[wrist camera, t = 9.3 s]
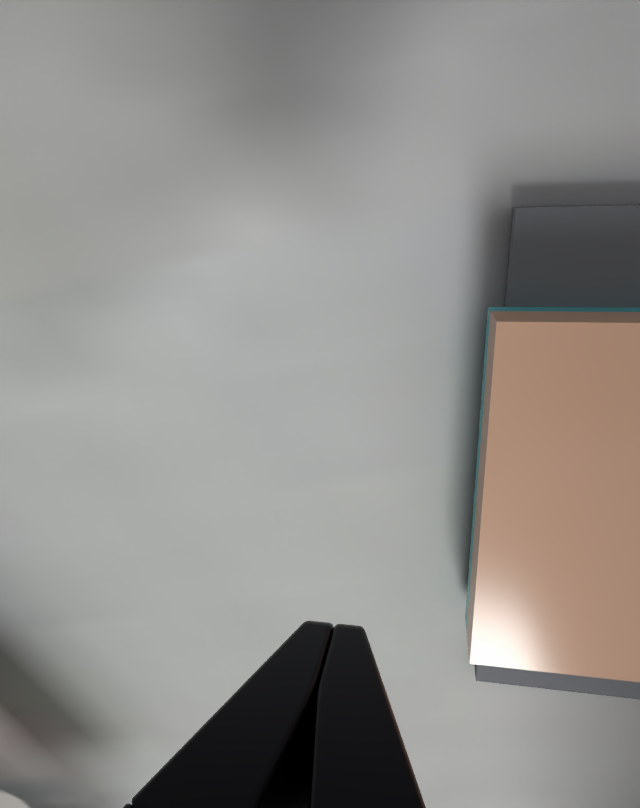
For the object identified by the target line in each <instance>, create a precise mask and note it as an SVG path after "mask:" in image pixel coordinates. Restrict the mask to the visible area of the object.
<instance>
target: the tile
mask: <svg viewBox="0 0 640 808" xmlns="http://www.w3.org/2000/svg"><path fill="white" fill-rule="evenodd" d="M465 619H466V629H467V640H468V651H469V661H470V664H476V665H485V666H495V667H504V668H513V669H522V670H531V671H540V672H550V673H559V674H568V675H577V676H586V677H595V678H605V679H614V680H623V681H632V682H640V308H613V307H488V313H487V327H486V341H485V354H484V368H483V382H482V395H481V409H480V423H479V437H478V450H477V464H476V478H475V491H474V505H473V519H472V533H471V546H470V560H469V574H468V588H467V601H466V615H465Z"/></svg>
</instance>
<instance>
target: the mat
mask: <svg viewBox="0 0 640 808" xmlns="http://www.w3.org/2000/svg"><path fill="white" fill-rule="evenodd" d="M505 307H613V308H640V205H603V206H559V207H516V208H513V215H512V227H511V239H510V251H509V263H508V275H507V287H506V299H505ZM475 676H476V681H484V682H493V683H502V684H510V685H519V686H528V687H537V688H545V689H554V690H563V691H572V692H581V693H589V694H598V695H607V696H616V697H624V698H633V699H640V682H632V681H623V680H614V679H605V678H595V677H586V676H577V675H568V674H559V673H550V672H540V671H531V670H522V669H513V668H504V667H495V666H485V665H476V664H475Z"/></svg>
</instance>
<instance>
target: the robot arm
mask: <svg viewBox="0 0 640 808" xmlns="http://www.w3.org/2000/svg"><path fill="white" fill-rule="evenodd" d="M123 808H426V807H425V804H424V801H423V798H422V795H421V793H420V790H419V787H418V784H417V781H416V778H415V775H414V772H413V769H412V766H411V763H410V761H409V758H408V755H407V752H406V749H405V746H404V743H403V740H402V737H401V734H400V731H399V728H398V726H397V723H396V720H395V717H394V714H393V711H392V708H391V705H390V702H389V699H388V696H387V693H386V691H385V688H384V685H383V682H382V679H381V676H380V673H379V670H378V667H377V664H376V661H375V659H374V656H373V653H372V650H371V647H370V644H369V641H368V638H367V635H366V632H365V630H364V629H363V628H362V627H361V626H355V625H345V624H337V625H336V626H335V627H333V625H332V624H331V623H326V622H316V621H306V622H304V623H303V624H302V625H301V626H300V627H299V628H298V629H297V630H296V631H295V632H294V633H293V634H292V635H291V636H290V637H289V638H288V639H287V640H286V641H285V642H284V643H283V644H282V645H281V646H280V647H279V648H278V649H277V651H276V652H275V653H274V654H273V655H272V656H271V657H270V658H269V659H268V660H267V661H266V662H265V663H264V664H263V665H262V666H261V667H260V668H259V669H258V670H257V671H256V672H255V673H254V674H253V675H252V676H251V677H250V678H249V679H248V680H247V681H246V682H245V683H244V684H243V685H242V686H241V687H240V688H239V689H238V691H237V692H236V693H235V694H234V695H233V696H232V697H231V698H230V699H229V700H228V701H227V702H226V703H225V704H224V705H223V706H222V707H221V708H220V709H219V710H218V711H217V712H216V713H215V714H214V715H213V716H212V717H211V718H210V719H209V720H208V721H207V722H206V723H205V724H204V725H203V726H202V727H201V728H200V730H199V731H198V732H197V733H196V734H195V735H194V736H193V737H192V738H191V739H190V740H189V741H188V742H187V743H186V744H185V745H184V746H183V747H182V748H181V749H180V750H179V751H178V752H177V753H176V754H175V755H174V756H173V757H172V758H171V759H170V760H169V761H168V762H167V763H166V764H165V765H164V766H163V767H162V769H161V770H160V771H159V772H158V773H157V774H156V775H155V776H154V777H153V778H152V779H151V780H150V781H149V782H148V783H147V784H146V785H145V786H144V787H143V788H142V789H141V790H140V791H139V792H138V793H137V794H136V795H135V796H134V797H133V799H132V805H131V804H126V805H125V806H124V807H123Z"/></svg>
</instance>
